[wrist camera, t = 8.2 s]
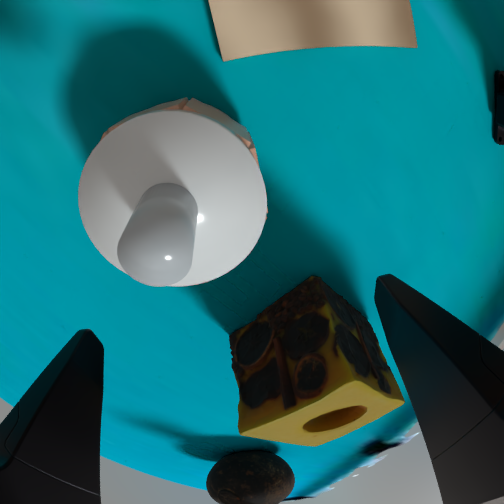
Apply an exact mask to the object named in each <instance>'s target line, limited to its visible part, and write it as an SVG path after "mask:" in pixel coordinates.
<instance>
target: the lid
mask: <svg viewBox="0 0 504 504" xmlns="http://www.w3.org/2000/svg"><path fill="white" fill-rule="evenodd" d="M78 200H79V209H80V215H81V218H82V222H83V225H84V227H85V230H86V232H87V234H88V236H89V238H90V239H91V241H92V243H93V244H94V245H95V247H96V248H97V249H98V251H99V252H100V253H101V254H102V255H103V256H104V257H105V258H106V259H107V260H108V261H109V262H110V263H112V264H113V265H114V266H115V267H117V268H118V269H120V270H121V271H123V272H124V273H126V274H128V275H129V276H131V277H132V278H133V279H135V280H136V281H138V282H140V283H143V284H146V285H150V286H158V287H160V286H190V285H196V284H200V283H204V282H208V281H210V280H213V279H215V278H218V277H220V276H222V275H224V274H226V273H227V272H229V271H230V270H232V269H233V268H235V267H236V266H237V265H238V264H239V263H241V262H242V261H243V260H244V259H245V258H246V257H247V255H248V254H249V253H250V252H251V251H252V249H253V248H254V246H255V244H256V243H257V241H258V239H259V237H260V235H261V233H262V230H263V226H264V223H265V218H266V212H267V196H266V189H265V184H264V181H263V178H262V174H261V171H260V169H259V166H258V164H257V162H256V160H255V157H254V156H253V154H252V153H251V151H250V149H249V148H248V146H247V145H246V144H245V143H244V142H243V141H242V139H241V138H240V137H239V136H238V135H237V134H235V133H234V132H233V131H232V130H231V129H230V128H228V127H227V126H225V125H224V124H222V123H221V122H219V121H217V120H215V119H213V118H211V117H209V116H206V115H203V114H200V113H197V112H193V111H187V110H180V109H164V110H157V111H151V112H148V113H144V114H141V115H138V116H136V117H134V118H132V119H129V120H128V121H126V122H124V123H123V124H121V125H120V126H118V127H117V128H115V129H114V130H112V131H111V132H110V133H108V134H107V135H106V136H105V137H104V138H103V139H102V140H101V141H100V142H99V143H98V144H97V146H96V147H95V148H94V149H93V151H92V152H91V154H90V156H89V157H88V159H87V161H86V163H85V166H84V168H83V171H82V174H81V178H80V183H79V191H78Z"/></svg>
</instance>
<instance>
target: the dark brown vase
mask: <svg viewBox="0 0 504 504" xmlns="http://www.w3.org/2000/svg"><path fill="white" fill-rule="evenodd" d="M294 483H295V478H294V474H293V471H292V469H291V468H290V466H289V465H288V464H287V462H286V461H284V460H283V459H282V458H281V457H279V456H277V455H275V454H272V453H269V452H263V451H250V452H240V453H235V454H231V455H228V456H226V457H224V458H222V459H221V460H219V461H218V462H217V463H216V464H215V465H214V466H213V467H212V469H211V470H210V472H209V474H208V477H207V481H206V487H207V490H208V492H209V494H210V496H211V497H212V498H213V499H214V500H215V501H216V502H218V503H219V504H278V503H280V502H281V501H282V500H284V499H285V498H286V497H287V496H288V495H289V494H290V493H291V491H292V490H293V487H294Z"/></svg>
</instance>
